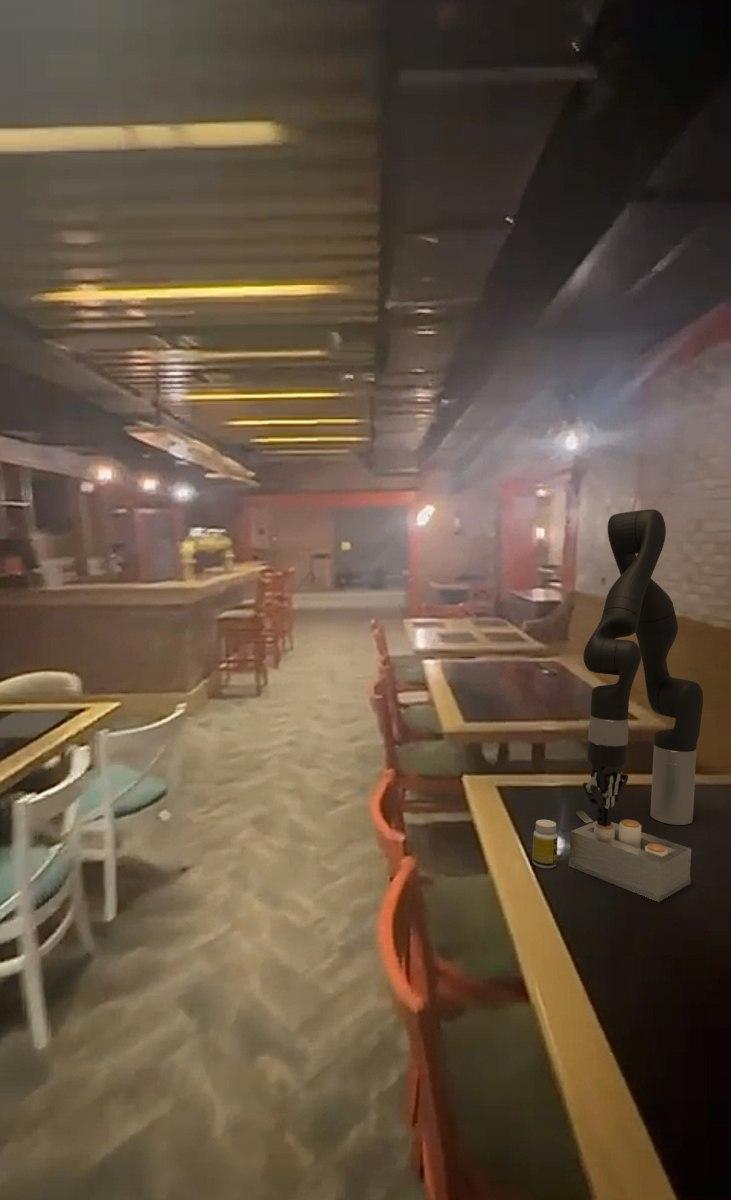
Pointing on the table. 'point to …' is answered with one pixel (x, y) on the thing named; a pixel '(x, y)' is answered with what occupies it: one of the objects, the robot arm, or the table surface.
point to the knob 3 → (656, 849)
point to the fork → (585, 817)
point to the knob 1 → (605, 830)
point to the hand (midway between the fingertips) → (603, 824)
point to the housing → (631, 862)
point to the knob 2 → (630, 832)
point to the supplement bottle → (545, 844)
